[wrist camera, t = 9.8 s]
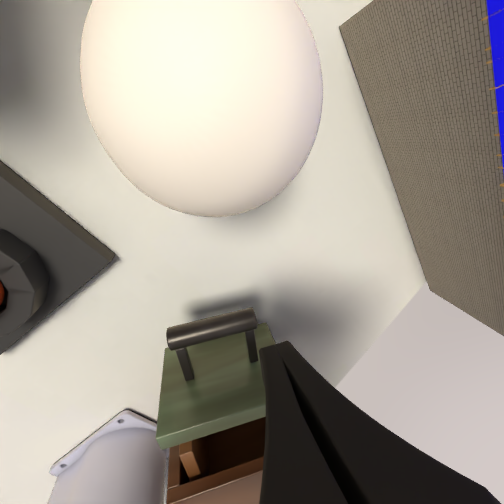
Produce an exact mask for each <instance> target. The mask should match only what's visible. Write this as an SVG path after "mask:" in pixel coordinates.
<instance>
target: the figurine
mask: <svg viewBox="0 0 504 504" xmlns="http://www.w3.org/2000/svg"><path fill="white" fill-rule="evenodd" d="M80 74H81V86H82V93H83V99H84V103H85V107H86V110H87V113H88V116H89V119H90V122H91V124H92V127H93V129H94V131H95V133H96V135H97V137H98V138H99V140H100V142H101V144H102V146H103V147H104V149H105V151H106V152H107V154H108V155H109V156H110V158H111V159H112V160H113V162H114V163H115V165H116V166H117V167H118V169H119V170H120V171H121V172H122V173H123V175H124V176H125V177H126V178H127V179H128V180H129V181H130V182H131V183H132V184H133V185H134V186H135V187H136V188H138V189H139V190H140V191H141V192H143V193H144V194H145V195H147V196H148V197H150V198H151V199H153V200H154V201H156V202H158V203H160V204H162V205H164V206H166V207H168V208H171V209H173V210H176V211H179V212H183V213H186V214H191V215H196V216H204V217H223V216H231V215H236V214H240V213H244V212H247V211H250V210H252V209H255V208H257V207H259V206H261V205H263V204H264V203H266V202H268V201H269V200H271V199H272V198H274V197H275V196H276V195H278V194H279V193H280V192H281V191H282V190H283V189H284V188H285V187H286V186H287V185H288V184H289V183H290V182H291V181H292V180H293V179H294V177H295V176H296V175H297V174H298V172H299V171H300V169H301V168H302V166H303V165H304V163H305V161H306V159H307V157H308V155H309V153H310V151H311V149H312V146H313V144H314V141H315V138H316V135H317V132H318V128H319V123H320V118H321V111H322V100H323V83H322V71H321V64H320V59H319V54H318V50H317V47H316V43H315V40H314V37H313V34H312V32H311V29H310V27H309V24H308V22H307V20H306V18H305V16H304V14H303V12H302V10H301V9H300V7H299V5H298V4H297V2H296V1H295V0H93V1H92V3H91V6H90V8H89V11H88V14H87V17H86V20H85V24H84V28H83V34H82V41H81V53H80Z"/></svg>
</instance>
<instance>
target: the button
mask: <svg viewBox="0 0 504 504" xmlns="http://www.w3.org/2000/svg"><path fill="white" fill-rule="evenodd" d="M3 298H4V288H3V285H2V283H1V281H0V305H1V303H2V301H3Z"/></svg>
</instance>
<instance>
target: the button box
mask: <svg viewBox="0 0 504 504" xmlns="http://www.w3.org/2000/svg"><path fill="white" fill-rule="evenodd" d="M114 256H115V254H114V253H113V252H112V251H111V250H109V249H108V248H107V247H106V246H104V245H103V244H102V243H101V242H99V241H98V240H97V239H96V238H95V237H93V236H92V235H91V234H90V233H88V232H87V231H86V230H85V229H83V228H82V227H81V226H80V225H79V224H77V223H76V222H75V221H74V220H72V219H71V218H70V217H69V216H67V215H66V214H65V213H64V212H63V211H61V210H60V209H59V208H58V207H56V206H55V205H54V204H53V203H51V202H50V201H49V200H48V199H47V198H45V197H44V196H43V195H42V194H40V193H39V192H38V191H37V190H35V189H34V188H33V187H32V186H31V185H29V184H28V183H27V182H26V181H24V180H23V179H22V178H21V177H19V176H18V175H17V174H16V173H15V172H13V171H12V170H11V169H10V168H8V167H7V166H6V165H5V164H3V163H2V162H1V161H0V281H1V283H2V285H3V288H4V298H3V301H2V303H1V305H0V355H1V354H2V353H3V352H4V351H5V350H6V349H8V348H9V347H10V346H11V345H12V344H14V343H15V342H16V341H17V340H18V339H20V338H21V337H22V336H23V335H24V334H26V333H27V332H28V331H29V330H30V329H32V328H33V327H34V326H35V325H36V324H38V323H39V322H40V321H41V320H42V319H43V318H45V317H46V316H47V315H48V314H49V313H51V312H52V311H53V310H54V309H55V308H57V307H58V306H59V305H60V304H61V303H63V302H64V301H65V300H66V299H67V298H69V297H70V296H71V295H72V294H73V293H75V292H76V291H77V290H78V289H79V288H80V287H82V286H83V285H84V284H85V283H86V282H88V281H89V280H90V279H91V278H92V277H94V276H95V275H96V274H97V273H98V272H100V271H101V270H102V269H103V268H104V267H106V266H107V265H108V264H109V263H110V262H111V260H112V259H113V257H114Z"/></svg>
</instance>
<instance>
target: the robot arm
mask: <svg viewBox="0 0 504 504" xmlns="http://www.w3.org/2000/svg"><path fill="white" fill-rule="evenodd" d="M259 357H260V365H261V372H262V379H263V383H264V387H265V397H266V425H265V447H264V460H263V473H262V483H261V492H260V500H259V504H501V503H500V502H499V501H498V500H497V499H496V498H495V497H494V496H493V495H492V494H491V493H490V492H489V491H488V490H487V489H486V488H485V487H483V486H482V485H480V484H478V483H476V482H474V481H472V480H471V479H469V478H467V477H465V476H463V475H461V474H459V473H458V472H456V471H454V470H453V469H451V468H449V467H447V466H446V465H444V464H442V463H440V462H439V461H437V460H435V459H433V458H432V457H430V456H429V455H427V454H425V453H424V452H422V451H420V450H419V449H417V448H416V447H414V446H412V445H411V444H409V443H408V442H406V441H405V440H403V439H402V438H400V437H399V436H397V435H396V434H394V433H393V432H391V431H390V430H388V429H387V428H385V427H384V426H382V425H381V424H379V423H378V422H377V421H375V420H374V419H372V418H371V417H370V416H369V415H367V414H366V413H365V412H363V411H362V410H361V409H359V408H358V407H357V406H356V405H354V404H353V403H352V402H351V401H349V400H348V399H347V398H346V397H344V396H343V395H342V394H341V393H340V392H339V391H338V390H336V389H335V388H334V387H333V386H332V385H331V384H330V383H329V382H328V381H326V380H325V379H324V378H323V377H322V376H321V375H320V374H319V373H318V372H317V371H316V370H315V369H314V368H313V367H312V366H311V365H310V364H309V363H308V362H307V361H306V360H305V359H304V358H303V357H302V356H301V355H300V353H299V352H298V351H297V350H296V349H295V348H294V347H293V345H292V344H291V343H290V342H289V341H285V342H281V343H278V344H274V345H270V346H267V347H263V348H261V349H260V350H259ZM156 430H157V424H156V423H154V422H152V421H150V420H148V419H146V418H143V417H141V416H139V415H137V414H135V413H133V412H131V411H129V410H125V411H122V412H121V413H119V414H118V415H117V416H116V417H114V418H113V419H112V420H110V421H109V422H108V423H107V424H105V425H104V426H103V427H101V428H100V429H99V430H98V431H96V432H95V433H94V434H92V435H91V436H90V437H89V438H87V439H86V440H85V441H83V442H82V443H81V444H80V445H78V446H77V447H76V448H74V449H73V450H72V451H71V452H69V453H68V454H67V455H65V456H64V457H63V458H62V459H60V460H59V461H58V462H56V463H55V464H54V465H53V466H52V467H51V468H50V470H49V473H50V474H51V475H54V476H58V477H57V480H56V482H55V485H54V487H53V490H52V493H51V495H50V498H49V500H48V503H47V504H163V500H164V485H165V470H166V459H167V458H168V457H169V449H170V448H167V449H164V450H161V449H160V447H159V445H158V443H157V441H156Z"/></svg>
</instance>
